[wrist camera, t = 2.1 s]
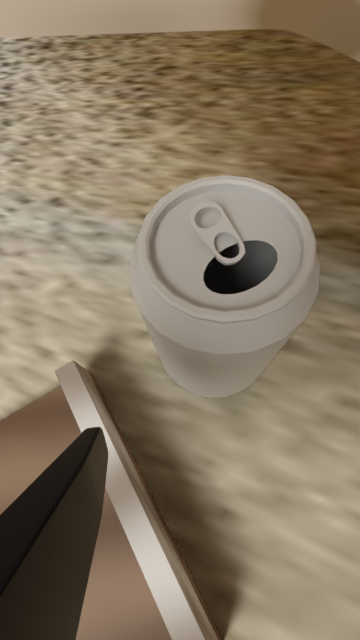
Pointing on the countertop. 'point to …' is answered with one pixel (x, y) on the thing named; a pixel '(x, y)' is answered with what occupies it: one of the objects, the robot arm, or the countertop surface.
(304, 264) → the can
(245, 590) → the countertop surface
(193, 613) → the floor track
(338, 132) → the countertop surface
